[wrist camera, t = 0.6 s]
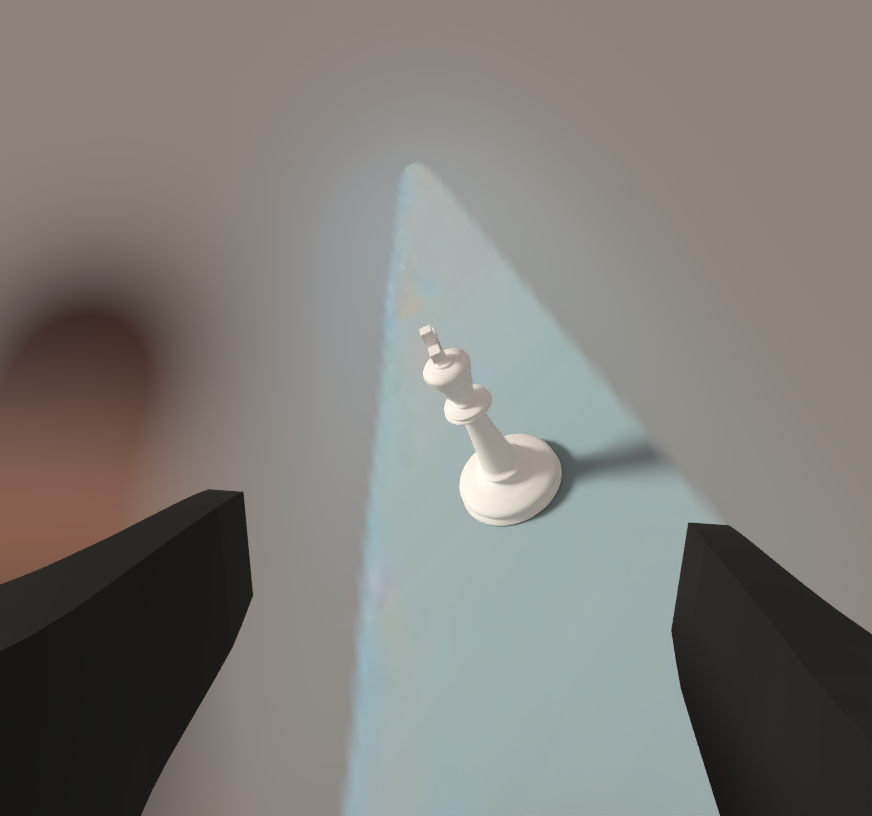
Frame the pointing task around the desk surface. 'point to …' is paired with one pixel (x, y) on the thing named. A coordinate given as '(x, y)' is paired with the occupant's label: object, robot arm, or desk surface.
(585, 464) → the desk surface
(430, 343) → the chess piece
